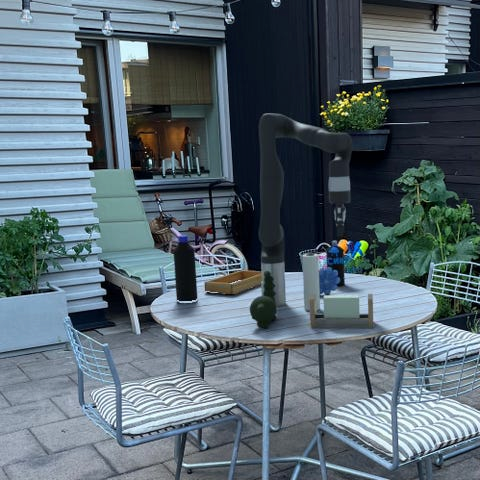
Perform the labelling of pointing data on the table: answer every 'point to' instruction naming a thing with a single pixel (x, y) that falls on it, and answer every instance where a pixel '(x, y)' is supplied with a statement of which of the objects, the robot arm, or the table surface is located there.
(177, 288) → the bottle
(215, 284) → the tray
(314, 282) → the paper towel roll
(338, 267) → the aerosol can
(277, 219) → the robot arm
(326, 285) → the grapes
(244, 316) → the table surface
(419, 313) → the table surface
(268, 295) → the toy figurine
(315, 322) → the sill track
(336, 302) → the pale green rectangular block
